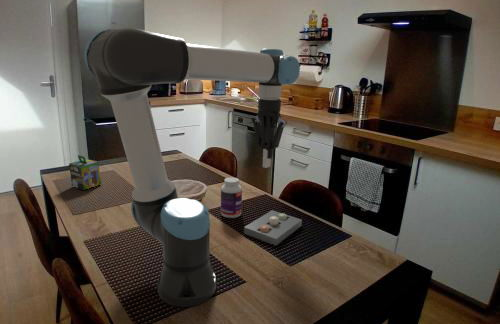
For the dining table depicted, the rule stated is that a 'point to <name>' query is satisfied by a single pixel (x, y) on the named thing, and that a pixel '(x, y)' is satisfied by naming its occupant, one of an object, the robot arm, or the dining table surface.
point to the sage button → (282, 216)
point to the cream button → (274, 221)
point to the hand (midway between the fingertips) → (266, 166)
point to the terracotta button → (264, 228)
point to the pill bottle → (231, 198)
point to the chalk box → (85, 173)
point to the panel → (273, 228)
